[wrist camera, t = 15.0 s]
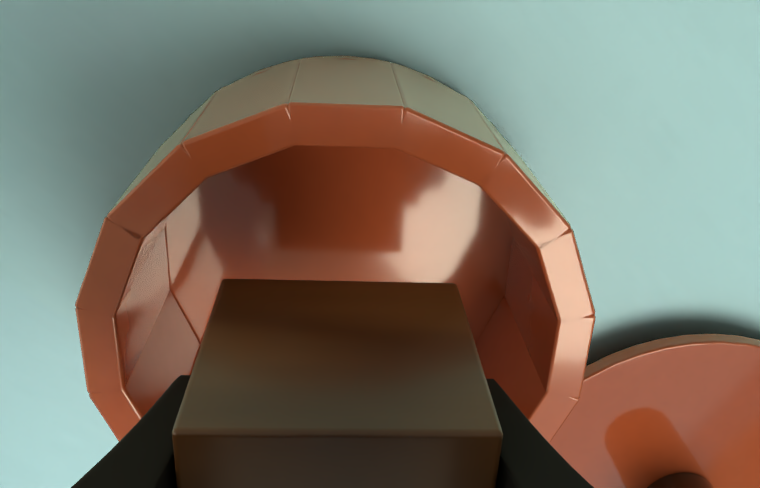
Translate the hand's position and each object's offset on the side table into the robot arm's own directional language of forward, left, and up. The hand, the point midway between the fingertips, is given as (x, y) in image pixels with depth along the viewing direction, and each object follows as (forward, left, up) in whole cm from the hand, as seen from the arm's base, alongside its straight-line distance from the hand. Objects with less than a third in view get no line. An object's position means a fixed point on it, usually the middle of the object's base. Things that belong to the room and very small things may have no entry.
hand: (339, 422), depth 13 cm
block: (0, 0, -1) cm, 1 cm away
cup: (0, 0, -7) cm, 7 cm away
